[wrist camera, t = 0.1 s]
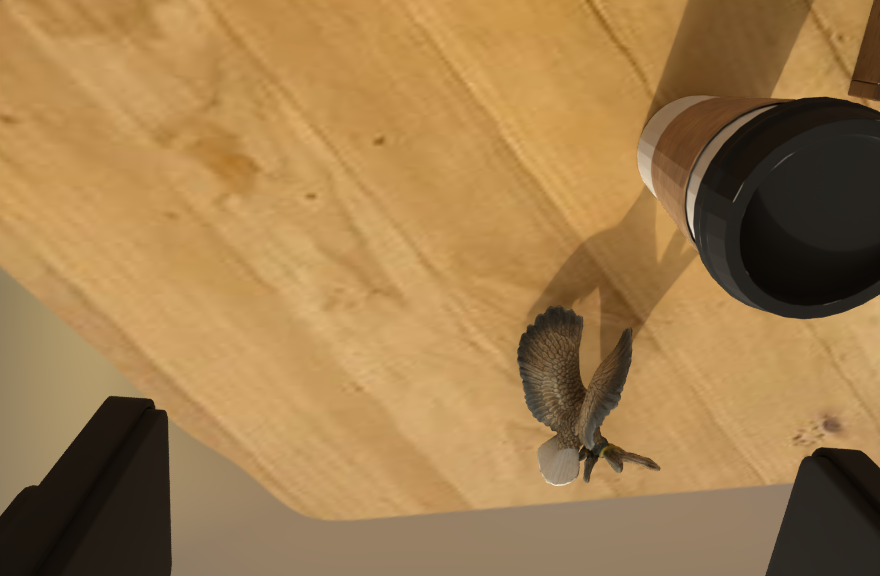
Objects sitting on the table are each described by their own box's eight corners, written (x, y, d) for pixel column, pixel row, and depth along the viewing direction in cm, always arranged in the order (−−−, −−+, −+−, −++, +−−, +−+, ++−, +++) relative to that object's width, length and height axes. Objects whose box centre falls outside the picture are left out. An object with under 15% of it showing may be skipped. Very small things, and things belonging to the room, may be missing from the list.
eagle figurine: (677, 420, 45) (653, 301, 41) (646, 515, 41) (615, 391, 36) (559, 407, 49) (525, 297, 45) (518, 491, 45) (476, 378, 40)
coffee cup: (797, 155, 41) (998, 233, 27) (672, 255, 43) (799, 376, 29) (710, 34, 39) (880, 50, 25) (581, 145, 41) (671, 219, 26)
